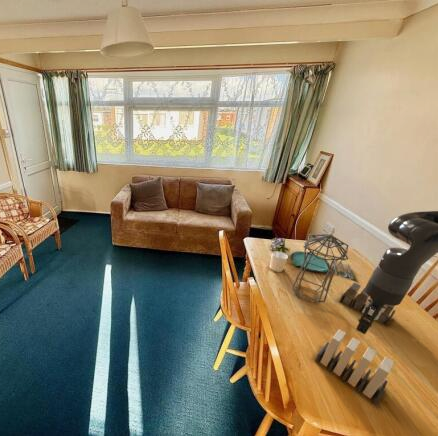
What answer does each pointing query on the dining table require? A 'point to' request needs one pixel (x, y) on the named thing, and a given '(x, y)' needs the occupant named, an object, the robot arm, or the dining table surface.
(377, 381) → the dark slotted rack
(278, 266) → the white cup
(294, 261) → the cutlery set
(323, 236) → the geometric lantern
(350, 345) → the white book
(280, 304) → the dining table surface
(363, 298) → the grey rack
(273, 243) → the purple flower bunch
